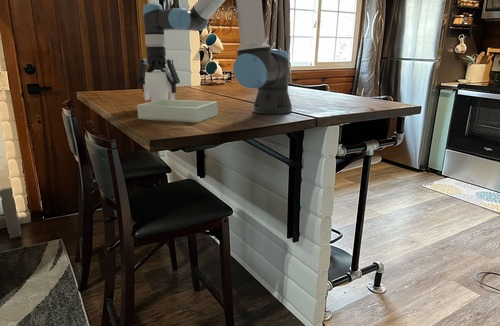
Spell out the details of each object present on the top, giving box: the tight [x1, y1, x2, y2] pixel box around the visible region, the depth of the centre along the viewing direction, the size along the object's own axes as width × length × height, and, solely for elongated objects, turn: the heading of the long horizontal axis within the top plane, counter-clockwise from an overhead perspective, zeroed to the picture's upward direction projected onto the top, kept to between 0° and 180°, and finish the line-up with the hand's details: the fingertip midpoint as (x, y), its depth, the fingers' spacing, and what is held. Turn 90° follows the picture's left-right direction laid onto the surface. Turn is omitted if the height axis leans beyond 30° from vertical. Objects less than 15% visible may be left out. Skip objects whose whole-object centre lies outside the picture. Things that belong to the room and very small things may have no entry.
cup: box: [145, 70, 171, 102], centre depth 159 cm, size 11×11×15 cm
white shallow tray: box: [136, 99, 219, 124], centre depth 140 cm, size 24×16×5 cm, turn 69°
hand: (159, 100), depth 160 cm, fingers open, 12 cm apart
